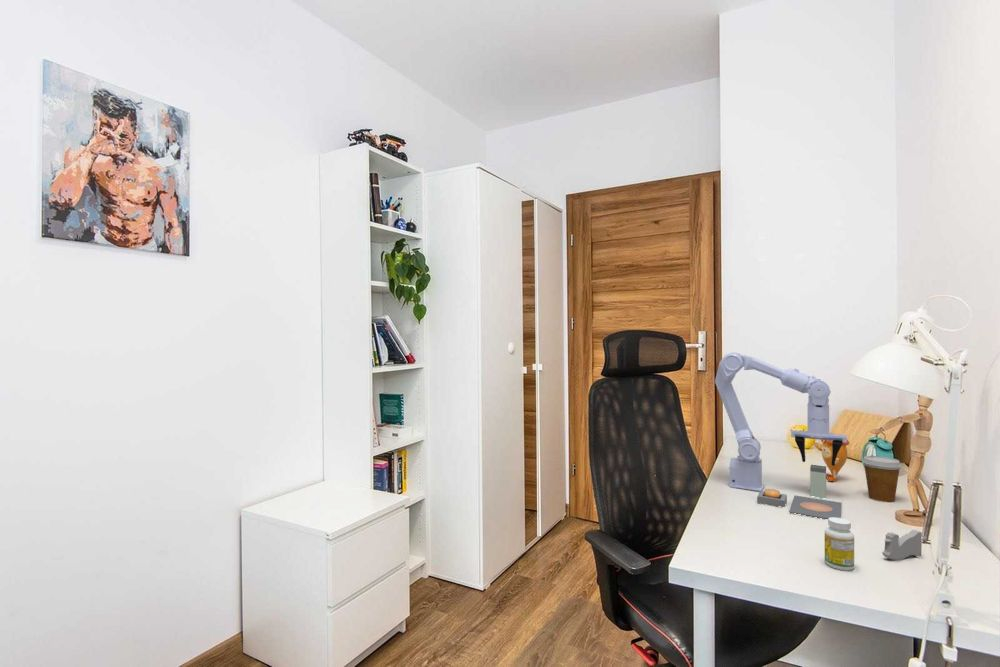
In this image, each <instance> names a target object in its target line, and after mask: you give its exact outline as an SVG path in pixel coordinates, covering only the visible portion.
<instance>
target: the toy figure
mask: <svg viewBox="0 0 1000 667" xmlns="http://www.w3.org/2000/svg"><path fill="white" fill-rule="evenodd" d="M820 442H821V443H822V446H821V457H822V461H824V463H825V465H826V468H828V470H829V471H830V472H829V473H826V477H828V478H826V481H827V480H828V481H827V482H829V481H836V480H837V481H838V478H837V475H838V473H839V472H840V470H842V468H843V467H844V466H845V464H846V462H847V458H848V449H847V446H849V445H850V441H849V440H848V439H847V443H845V442H842V446H841V448H840V450H839V452H838V454H837V456H836V460H835V466H833V465H832V455H833V454H832V442H833V441H828V440H820ZM837 481H836V482H837Z"/></svg>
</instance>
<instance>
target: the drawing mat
mask: <svg viewBox="0 0 1000 667" xmlns="http://www.w3.org/2000/svg"><path fill="white" fill-rule="evenodd" d="M789 512H790V513H789ZM788 513H789V514H791V513H796V514H801V515H800V516H802V515H806V516H805V517H808V516H812V517H811V518H814V517H817V518H816V519H820V518H822V519H821V520H825V519H828V518H830V517H836V518H842V501H841V502H840V501H834V500H827V499H823V498H816V497H810V496H809V497H807V496H801V495H795V494H794V497H793V499H792V501H791V504H790V507H789V510H788ZM796 514H795V515H796Z"/></svg>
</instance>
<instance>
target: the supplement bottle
mask: <svg viewBox="0 0 1000 667" xmlns="http://www.w3.org/2000/svg"><path fill="white" fill-rule="evenodd" d="M827 525H828V526H827V527H826V528H825V529H824V562H825V564H826V565H827V566H829V567H831V568H833V569H835V570H840V571H853V569H855V535H854V533H853V532H852V531H851V521H849V520H848V519H845V518H842V517H841V518H836V517H830V518H828V520H827Z"/></svg>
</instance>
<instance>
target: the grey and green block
mask: <svg viewBox="0 0 1000 667" xmlns="http://www.w3.org/2000/svg"><path fill="white" fill-rule="evenodd" d="M809 468H810V469H809V470H810V471H809V474H810V476H809V480H810V482H809V484H810V487H809V488H810V489H809V492H810V493H809V494H810V496H815V497H814V498H816V497H821V498H820V499H823V498H826V499H827V478H826V474H827V465H826V466H825V465H818V464H817V465H816V464H810V467H809ZM810 496H809V497H810Z"/></svg>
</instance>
